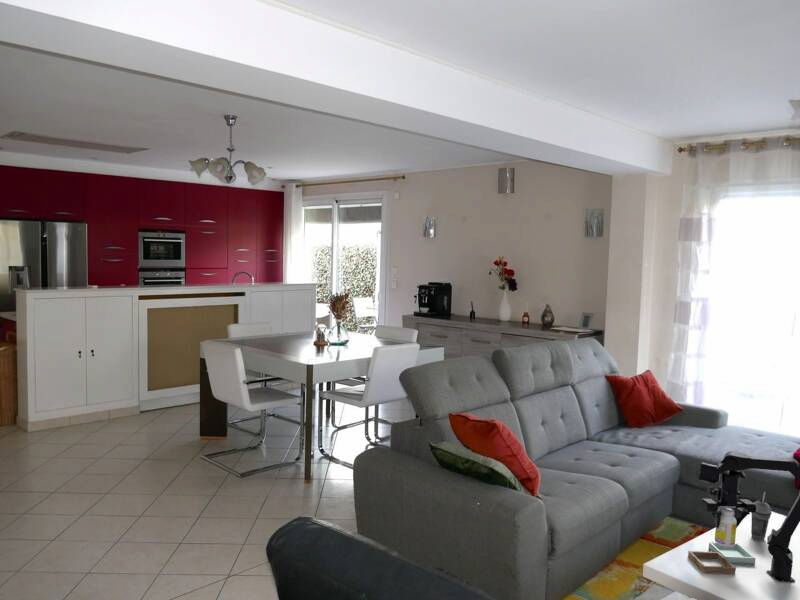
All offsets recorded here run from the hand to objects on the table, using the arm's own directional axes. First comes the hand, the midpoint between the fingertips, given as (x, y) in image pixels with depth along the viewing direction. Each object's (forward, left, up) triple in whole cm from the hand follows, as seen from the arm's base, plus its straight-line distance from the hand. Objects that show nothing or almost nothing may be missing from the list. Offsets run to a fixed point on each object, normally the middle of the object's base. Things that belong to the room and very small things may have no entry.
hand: (725, 527), depth 234 cm
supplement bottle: (0, 0, -6) cm, 6 cm away
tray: (+4, -6, -13) cm, 14 cm away
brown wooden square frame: (-4, +6, -13) cm, 15 cm away
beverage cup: (+20, -26, -13) cm, 35 cm away
